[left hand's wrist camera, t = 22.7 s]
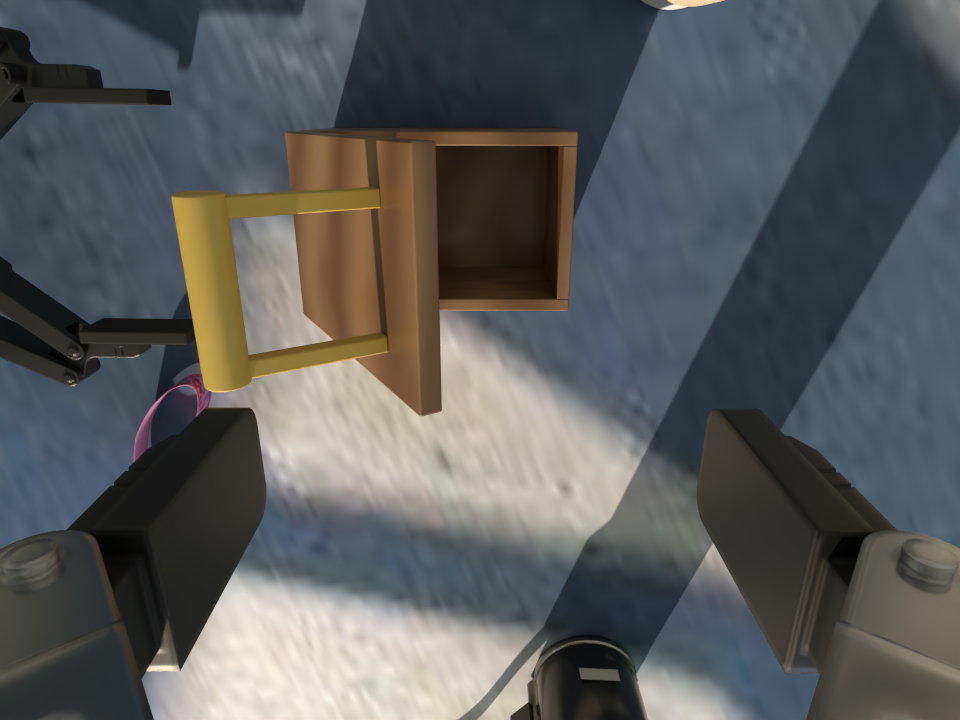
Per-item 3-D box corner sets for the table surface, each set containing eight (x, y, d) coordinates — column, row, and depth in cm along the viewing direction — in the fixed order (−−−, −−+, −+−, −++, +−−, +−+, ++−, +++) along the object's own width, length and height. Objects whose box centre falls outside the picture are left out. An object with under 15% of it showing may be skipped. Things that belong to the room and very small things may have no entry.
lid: (436, 140, 21) (174, 145, 17) (442, 412, 24) (227, 466, 20) (302, 131, 33) (133, 132, 29) (319, 312, 36) (171, 334, 33)
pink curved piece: (166, 360, 47) (152, 371, 45) (218, 379, 48) (206, 391, 46) (134, 475, 51) (120, 491, 49) (182, 491, 51) (171, 507, 49)
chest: (558, 128, 41) (578, 131, 33) (551, 274, 45) (568, 311, 37) (333, 127, 41) (296, 130, 33) (344, 274, 45) (313, 310, 37)
